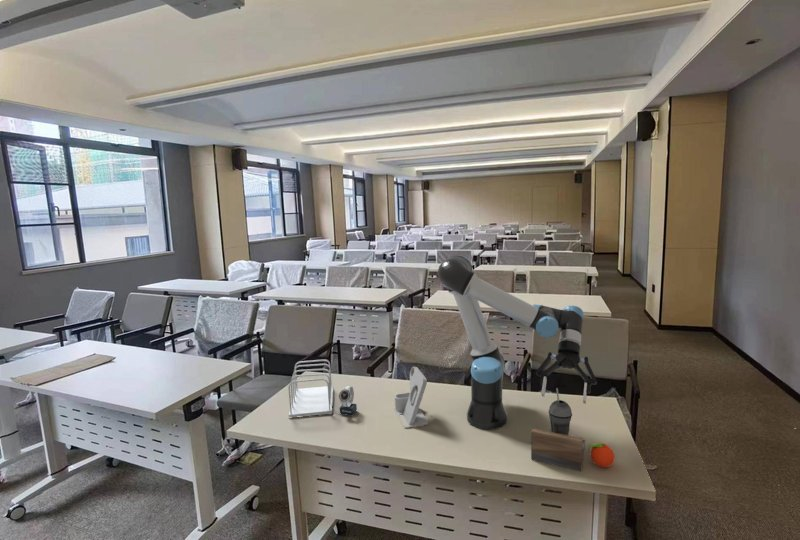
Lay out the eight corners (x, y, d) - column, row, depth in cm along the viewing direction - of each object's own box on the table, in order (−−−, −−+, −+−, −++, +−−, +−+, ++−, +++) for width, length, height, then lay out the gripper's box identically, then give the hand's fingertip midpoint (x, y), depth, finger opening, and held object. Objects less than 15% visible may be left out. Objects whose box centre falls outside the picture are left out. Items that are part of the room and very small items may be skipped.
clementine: (589, 471, 133) (590, 449, 132) (584, 458, 140) (584, 437, 139) (617, 472, 132) (618, 451, 131) (610, 459, 138) (611, 439, 137)
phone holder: (393, 408, 179) (392, 367, 176) (416, 405, 181) (415, 364, 178) (404, 429, 162) (402, 383, 159) (429, 425, 164) (428, 380, 162)
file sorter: (295, 393, 197) (293, 360, 195) (333, 389, 200) (331, 357, 197) (288, 418, 173) (286, 382, 171) (332, 415, 175) (330, 378, 173)
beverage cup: (573, 452, 138) (575, 393, 135) (549, 450, 139) (550, 392, 136) (568, 440, 145) (570, 384, 142) (546, 438, 146) (547, 383, 143)
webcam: (338, 416, 173) (336, 390, 172) (346, 407, 181) (345, 382, 179) (350, 418, 171) (349, 392, 170) (358, 409, 179) (357, 384, 177)
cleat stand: (580, 471, 133) (581, 441, 131) (531, 459, 140) (531, 431, 138) (584, 448, 145) (585, 420, 144) (538, 438, 152) (539, 412, 151)
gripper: (606, 353, 157) (602, 409, 146) (536, 345, 169) (528, 396, 158) (606, 343, 152) (602, 400, 141) (533, 335, 163) (525, 388, 152)
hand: (563, 398), depth 149 cm, fingers open, 13 cm apart
